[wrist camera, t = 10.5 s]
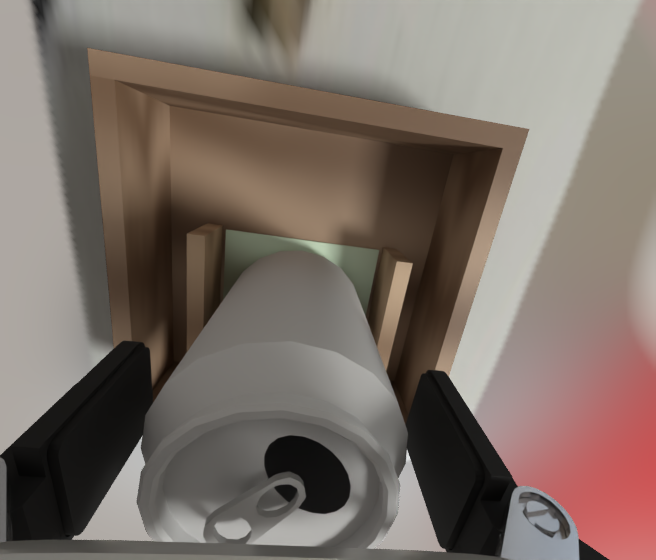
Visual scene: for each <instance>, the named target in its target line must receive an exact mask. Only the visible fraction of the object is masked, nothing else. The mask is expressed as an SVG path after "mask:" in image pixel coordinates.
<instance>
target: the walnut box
mask: <svg viewBox="0 0 656 560" xmlns="http://www.w3.org/2000/svg"><path fill="white" fill-rule="evenodd" d="M87 50H88V61H89V72H90V84H91V95H92V106H93V118H94V129H95V140H96V152H97V163H98V174H99V186H100V197H101V208H102V220H103V231H104V242H105V254H106V265H107V276H108V288H109V299H110V310H111V322H112V333H113V344H114V348H115V347H116V346H117V345H118V344H119V343H120V342H122V341H135V342H143V343H144V344H145V347H148V348H149V349H150V359H151V374H152V390H153V402H154V401H155V399H156V398H157V396H158V394H159V393H160V391H161V390H162V388H163V386H164V385H165V383H166V382H167V380H168V379H169V377H170V376H171V375H172V373H173V372H174V370H175V369H176V367H177V366H178V364H179V363H180V362H181V360H182V359H183V357H184V356H185V354H186V353H187V352H188V350H189V349H190V347H191V346H192V344H193V343H194V341H195V340H196V339H197V337H198V336H199V334H200V333H201V331H202V330H203V328H204V327H205V326H206V324H207V323H208V321H209V320H210V318H211V317H212V315H213V314H214V313H215V311H216V310H217V308H218V307H219V305H220V304H221V303H222V301H223V300H224V298H225V297H226V295H227V294H228V292H229V291H230V290H231V288H232V287H233V285H234V284H235V282H236V281H237V279H238V278H239V277H240V275H241V274H242V272H243V271H244V270H245V269H247V268H248V267H249V266H251V265H252V264H253V263H254V262H256V261H257V260H258V259H260V258H262V257H265V256H268V255H271V254H274V253H276V252H279V251H301V250H302V251H306V252H309V253H313V254H317V255H320V256H323V257H325V258H326V259H328V260H329V261H331V262H332V263H334V264H335V265H337V266H339V267H340V268H341V269H342V270H343V272H344V273H345V274H346V275H347V277H348V278H349V279H350V280H351V282H352V283H353V285H354V287H355V290H356V293H357V295H358V298H359V301H360V303H361V306H362V309H363V311H364V314H365V317H366V319H367V322H368V325H369V327H370V330H371V333H372V335H373V338H374V341H375V343H376V346H377V348H378V351H379V354H380V356H381V359H382V362H383V364H384V367H385V370H386V372H387V375H388V378H389V380H390V383H391V386H392V388H393V391H394V394H395V396H396V399H397V402H398V404H399V407H400V410H401V413H402V416H403V419H404V422H405V425H406V422H407V418H408V415H409V412H410V409H411V406H412V402H413V399H414V396H415V393H416V390H417V386H418V383H419V380H420V377H421V375H422V374H423V373H426V371H427V370H438V371H444V372H446V374H447V375H448V377H449V374H450V371H451V367H452V364H453V361H454V358H455V355H456V352H457V349H458V346H459V343H460V340H461V337H462V334H463V331H464V328H465V325H466V322H467V318H468V315H469V312H470V309H471V306H472V303H473V300H474V297H475V294H476V291H477V288H478V285H479V282H480V279H481V276H482V272H483V269H484V266H485V263H486V260H487V257H488V254H489V251H490V248H491V245H492V242H493V239H494V236H495V233H496V230H497V226H498V223H499V220H500V217H501V214H502V211H503V208H504V205H505V202H506V199H507V196H508V193H509V190H510V187H511V184H512V180H513V177H514V174H515V171H516V168H517V165H518V162H519V159H520V156H521V153H522V150H523V147H524V144H525V141H526V138H527V134H528V131H529V129H525V128H520V127H514V126H509V125H503V124H498V123H493V122H487V121H482V120H476V119H471V118H465V117H460V116H455V115H449V114H444V113H438V112H433V111H427V110H422V109H417V108H411V107H406V106H400V105H395V104H389V103H384V102H379V101H373V100H368V99H362V98H357V97H351V96H346V95H341V94H335V93H330V92H324V91H319V90H313V89H308V88H302V87H297V86H292V85H286V84H281V83H275V82H270V81H264V80H259V79H254V78H248V77H243V76H237V75H232V74H226V73H221V72H216V71H210V70H205V69H199V68H194V67H188V66H183V65H178V64H172V63H167V62H161V61H156V60H150V59H145V58H140V57H134V56H129V55H123V54H118V53H112V52H107V51H102V50H96V49H91V48H87Z"/></svg>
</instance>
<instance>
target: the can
mask: <svg viewBox="0 0 656 560" xmlns="http://www.w3.org/2000/svg"><path fill="white" fill-rule="evenodd" d="M407 439H408V431H407V428H406V425H405V422H404V419H403V416H402V413H401V410H400V407H399V404H398V402H397V399H396V396H395V394H394V391H393V388H392V386H391V383H390V380H389V378H388V375H387V372H386V370H385V367H384V364H383V362H382V359H381V356H380V354H379V351H378V348H377V346H376V343H375V341H374V338H373V335H372V333H371V330H370V327H369V325H368V322H367V319H366V317H365V314H364V311H363V309H362V306H361V303H360V301H359V298H358V295H357V293H356V290H355V287H354V285H353V283H352V282H351V280H350V279H349V278H348V277H347V275H346V274H345V273H344V272H343V270H342V269H341V268H340V267H339V266H337V265H335V264H334V263H332V262H331V261H329V260H328V259H326V258H325V257H323V256H320V255H317V254H313V253H309V252H306V251H302V250H301V251H279V252H276V253H274V254H271V255H268V256H265V257H262V258H260V259H258V260H257V261H256V262H254V263H253V264H252V265H251V266H249V267H248V268H247V269H245V270H244V271H243V272H242V274H241V275H240V277H239V278H238V279H237V281H236V282H235V284H234V285H233V287H232V288H231V290H230V291H229V292H228V294H227V295H226V297H225V298H224V300H223V301H222V303H221V304H220V305H219V307H218V308H217V310H216V311H215V313H214V314H213V315H212V317H211V318H210V320H209V321H208V323H207V324H206V326H205V327H204V328H203V330H202V331H201V333H200V334H199V336H198V337H197V339H196V340H195V341H194V343H193V344H192V346H191V347H190V349H189V350H188V352H187V353H186V354H185V356H184V357H183V359H182V360H181V362H180V363H179V364H178V366H177V367H176V369H175V370H174V372H173V373H172V375H171V376H170V377H169V379H168V380H167V382H166V383H165V385H164V386H163V388H162V390H161V391H160V393H159V394H158V396H157V398H156V399H155V401H154V402H153V404H152V406H151V407H150V409H149V410H148V412H147V413H146V415H145V422H144V430H143V437H142V444H141V450H142V454H143V457H144V461H145V464H146V465H145V466H144V468H143V469H142V471H141V476H140V483H139V489H138V496H137V505H138V508H139V511H140V514H141V517H142V520H143V523H144V527H145V530H146V532H147V534H148V535H149V536H150V537H151V538H152V540H153V541H158V542H193V543H227V544H257V545H286V546H314V547H341V548H366V549H375V548H376V547H377V546H378V545H379V544H380V543H381V542H382V541H383V540H384V539H385V537H386V535H387V533H388V531H389V529H390V527H391V525H392V524H393V522H394V520H395V518H396V516H397V514H398V506H399V492H400V483H399V480H398V478H399V475H400V474H401V471H402V470H403V467H404V465H405V463H406V451H407Z"/></svg>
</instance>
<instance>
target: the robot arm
mask: <svg viewBox="0 0 656 560" xmlns="http://www.w3.org/2000/svg"><path fill="white" fill-rule="evenodd" d="M152 404H153V390H152V374H151V359H150V349H149V348H148V347H145V344H144V343H143V342H135V341H122V342H120V343H119V344H118V345H117V346H116V347H115V348H114V349H113V350H112V351H111V352H110V353H109V354H108V355H107V356H106V357H105V358H104V359H102V360H101V361H100V362H99V363H98V364H97V365H96V366H95V367H94V368H93V369H92V370H91V371H90V372H89V373H88V374H87V375H86V376H85V377H83V378H82V379H81V380H80V381H79V382H78V383H77V384H75V385H74V386H73V387H72V388H71V389H70V390H69V391H68V392H67V393H66V394H65V395H64V396H63V397H62V398H61V399H59V400H58V401H57V402H56V403H55V404H54V405H53V406H52V407H51V408H50V409H49V410H48V411H47V412H46V413H45V414H44V415H42V416H41V417H40V418H39V419H38V420H37V421H36V422H35V423H34V424H33V425H32V426H31V427H30V428H29V429H28V430H27V431H25V433H23V434H22V435H21V436H20V437H19V438H18V439H17V440H16V441H15V442H14V443H13V444H12V445H11V446H10V447H9V448H8V449H6V450H5V451H4V452H3V453H2V454H1V455H0V560H609V559H607V558H606V557H604V556H603V555H601V554H600V553H598V552H597V551H596V550H594V549H593V548H591V547H590V546H588V545H587V544H585V543H584V542H582V541H581V540H580V539H578V533H577V528H576V526H575V524H574V522H573V520H572V518H571V517H570V516H569V514H568V513H567V512H566V511H565V509H564V508H563V507H562V506H560V504H559V503H558V502H557V501H555V500H554V499H553V498H551V497H550V496H549V495H547V494H546V493H544V492H542V491H540V490H538V489H536V488H532V487H528V486H519V487H518V486H517V485H516V483H515V482H514V480H513V478H512V475H511V474H510V472H509V471H508V469H507V468H506V466H505V465H504V463H503V461H502V460H501V458H500V457H499V455H498V454H497V452H496V450H495V449H494V447H493V446H492V444H491V443H490V441H489V439H488V438H487V436H486V435H485V433H484V432H483V430H482V428H481V427H480V425H479V424H478V423H477V421H476V419H475V417H474V416H473V414H472V413H471V411H470V410H469V408H468V406H467V405H466V403H465V402H464V400H463V399H462V397H461V395H460V394H459V392H458V391H457V389H456V388H455V386H454V385H453V383H452V381H451V380H450V378H449V377H448V375H447V374H446V372H444V371H438V370H427V371H426V373H423V374H422V375H421V377H420V380H419V383H418V386H417V390H416V393H415V396H414V399H413V402H412V406H411V409H410V412H409V415H408V418H407V422H406V428H407V431H408V439H407V450H408V453H409V456H410V459H411V462H412V465H413V468H414V471H415V474H416V477H417V480H418V483H419V486H420V489H421V491H422V495H423V497H424V500H425V503H426V506H427V509H428V512H429V515H430V518H431V521H432V524H433V527H434V530H435V533H436V536H437V539H438V542H439V544H440V546H441V547H442V548H444V549H446V552H433V551H414V550H390V549H366V548H341V547H314V546H286V545H257V544H227V543H193V542H158V541H122V540H72V538H73V537H74V535H75V536H76V535H79V534H81V533H82V532H83V530H84V529H85V528H86V526H87V524H88V523H89V521H90V519H91V518H92V516H93V515H94V513H95V511H96V510H97V508H98V507H99V505H100V503H101V501H102V500H103V498H104V497H105V495H106V494H107V492H108V490H109V489H110V487H111V485H112V484H113V482H114V480H115V479H116V477H117V476H118V474H119V473H120V471H121V469H122V468H123V466H124V464H125V462H126V461H127V460H128V458H129V456H130V454H131V453H132V451H133V450H134V448H135V447H136V445H137V443H138V442H139V440H140V439H141V437H142V435H143V430H144V422H145V415H146V413H147V412H148V410H149V409H150V407H151V406H152Z"/></svg>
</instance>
